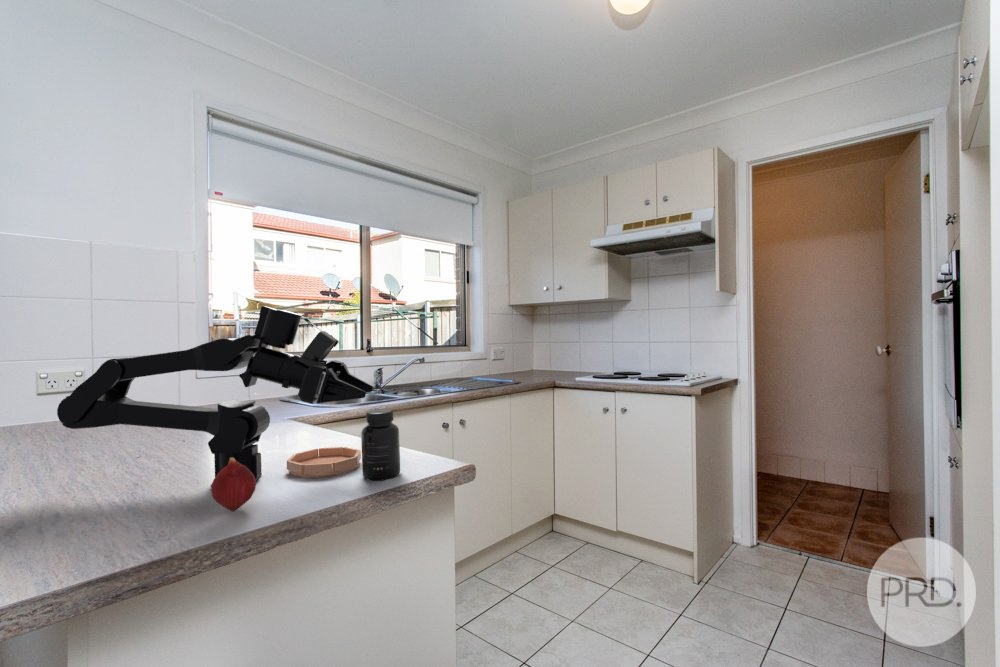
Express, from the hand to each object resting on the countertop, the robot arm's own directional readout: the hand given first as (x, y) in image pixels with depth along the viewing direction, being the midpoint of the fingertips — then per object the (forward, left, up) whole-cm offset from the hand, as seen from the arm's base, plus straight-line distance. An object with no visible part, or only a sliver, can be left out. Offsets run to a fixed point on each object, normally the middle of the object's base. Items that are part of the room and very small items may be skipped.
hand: (369, 391), depth 89 cm
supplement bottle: (+2, -1, -16) cm, 16 cm away
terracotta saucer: (-10, +7, -15) cm, 19 cm away
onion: (-19, -14, -16) cm, 28 cm away
